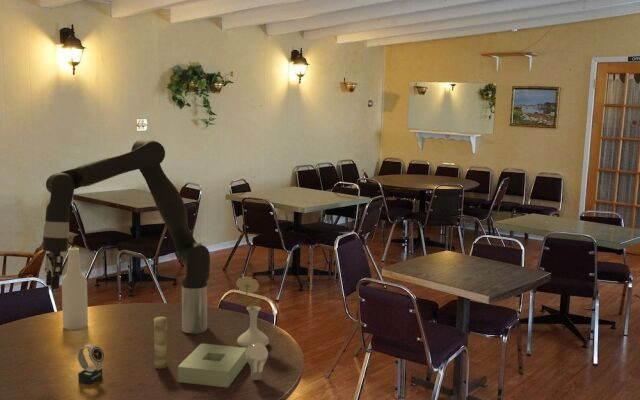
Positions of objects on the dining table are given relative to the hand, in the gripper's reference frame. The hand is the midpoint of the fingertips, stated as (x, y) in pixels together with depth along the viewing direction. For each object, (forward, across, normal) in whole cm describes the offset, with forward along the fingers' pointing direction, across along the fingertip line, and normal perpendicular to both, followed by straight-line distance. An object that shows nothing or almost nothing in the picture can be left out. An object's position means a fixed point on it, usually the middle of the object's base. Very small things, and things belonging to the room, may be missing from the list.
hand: (52, 287), depth 206 cm
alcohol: (+20, +36, -16) cm, 44 cm away
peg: (+24, -15, -32) cm, 43 cm away
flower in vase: (+19, -12, -66) cm, 70 cm away
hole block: (+24, -27, -45) cm, 58 cm away
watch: (+27, -15, -10) cm, 32 cm away
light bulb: (+24, -39, -54) cm, 71 cm away
